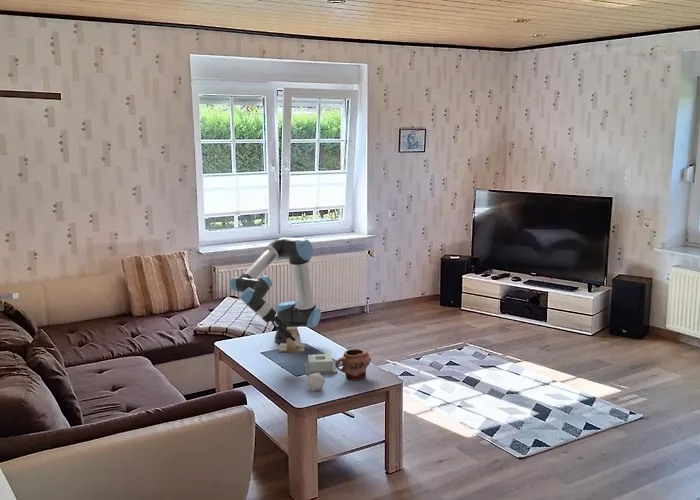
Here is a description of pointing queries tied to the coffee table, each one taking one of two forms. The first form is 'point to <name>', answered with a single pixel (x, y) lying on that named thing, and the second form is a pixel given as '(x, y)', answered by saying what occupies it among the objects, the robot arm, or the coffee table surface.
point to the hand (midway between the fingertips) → (299, 342)
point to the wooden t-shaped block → (291, 344)
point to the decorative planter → (354, 364)
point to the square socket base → (320, 364)
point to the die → (315, 381)
